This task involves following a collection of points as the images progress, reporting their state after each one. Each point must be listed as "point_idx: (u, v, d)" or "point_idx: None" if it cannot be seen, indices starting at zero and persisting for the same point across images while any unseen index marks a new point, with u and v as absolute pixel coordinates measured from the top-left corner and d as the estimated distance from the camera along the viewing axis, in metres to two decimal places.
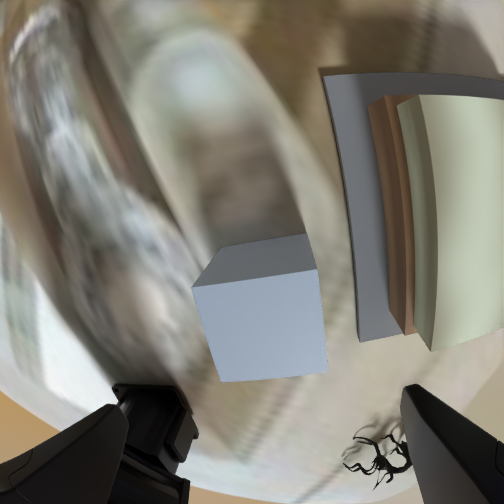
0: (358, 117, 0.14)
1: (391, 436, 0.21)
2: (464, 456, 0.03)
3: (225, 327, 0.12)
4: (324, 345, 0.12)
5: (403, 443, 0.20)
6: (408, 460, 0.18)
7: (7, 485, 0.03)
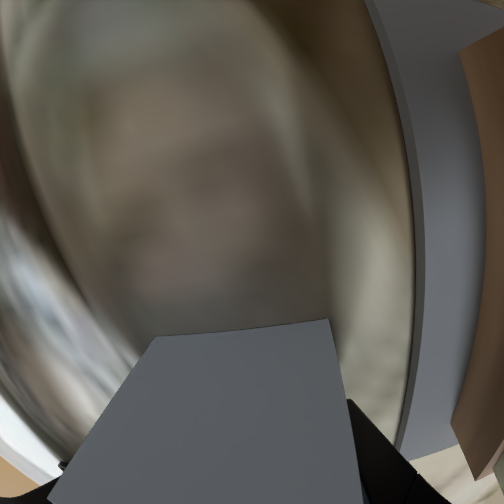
0: (444, 68, 0.05)
1: None
2: (373, 485, 0.04)
3: None
4: None
5: None
6: None
7: None
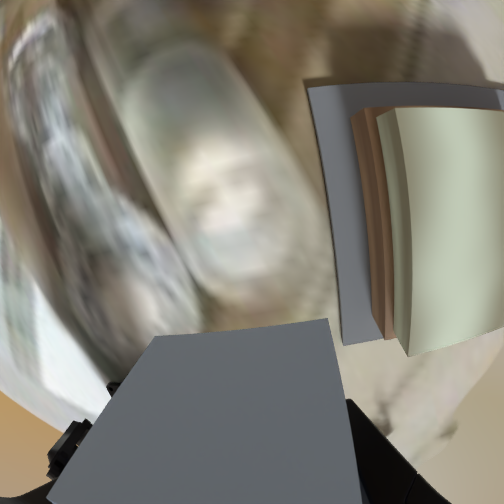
0: (341, 128, 0.15)
1: None
2: (373, 485, 0.04)
3: None
4: None
5: None
6: None
7: None
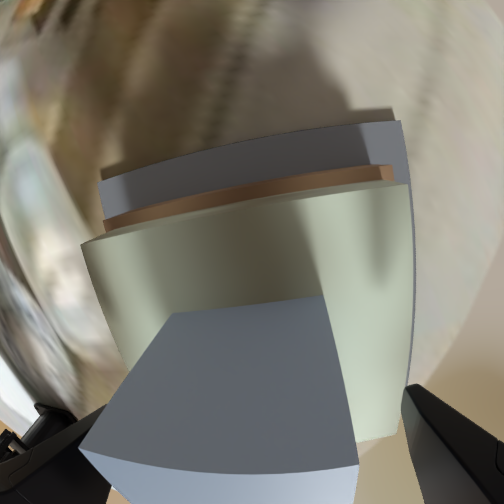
0: None
1: None
2: (465, 456, 0.03)
3: None
4: None
5: None
6: None
7: (6, 485, 0.03)
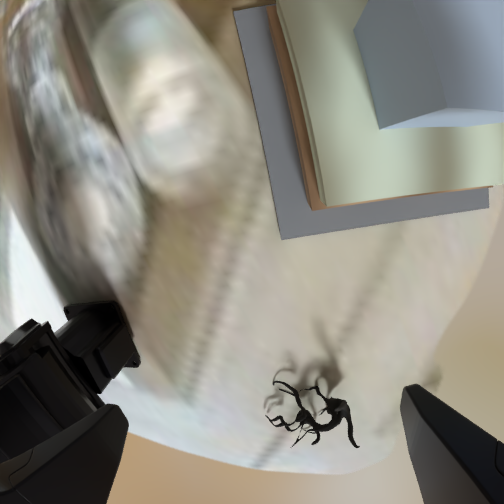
0: (261, 36, 0.15)
1: (317, 388, 0.22)
2: (464, 456, 0.03)
3: (443, 12, 0.05)
4: None
5: (331, 398, 0.22)
6: (333, 417, 0.20)
7: (7, 486, 0.03)
